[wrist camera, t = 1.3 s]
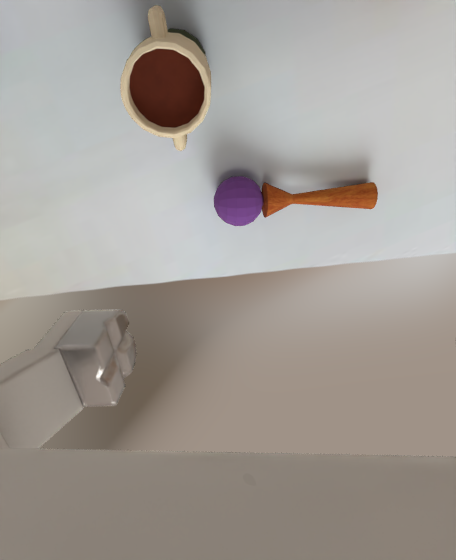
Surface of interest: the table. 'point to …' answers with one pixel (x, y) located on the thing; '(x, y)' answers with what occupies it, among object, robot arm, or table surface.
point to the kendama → (282, 199)
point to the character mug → (167, 81)
